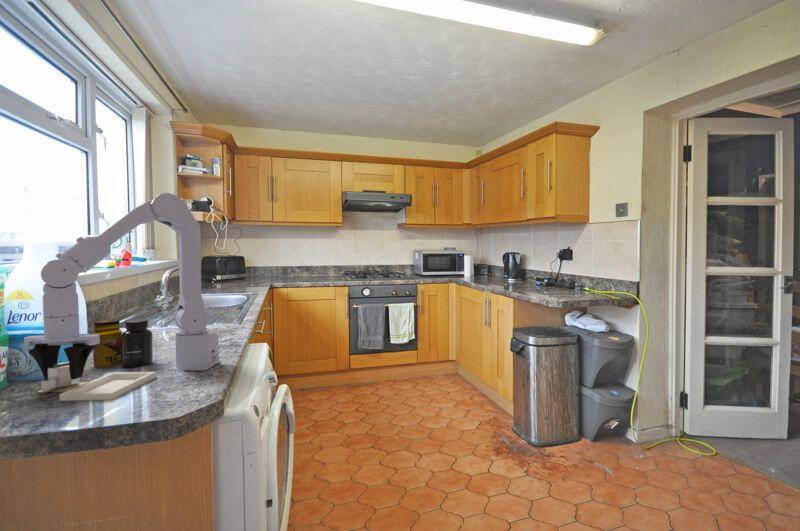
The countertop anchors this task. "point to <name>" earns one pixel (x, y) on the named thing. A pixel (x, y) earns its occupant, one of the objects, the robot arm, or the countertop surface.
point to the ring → (58, 377)
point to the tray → (108, 386)
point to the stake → (64, 387)
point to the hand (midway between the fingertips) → (63, 378)
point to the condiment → (107, 343)
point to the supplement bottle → (136, 345)
